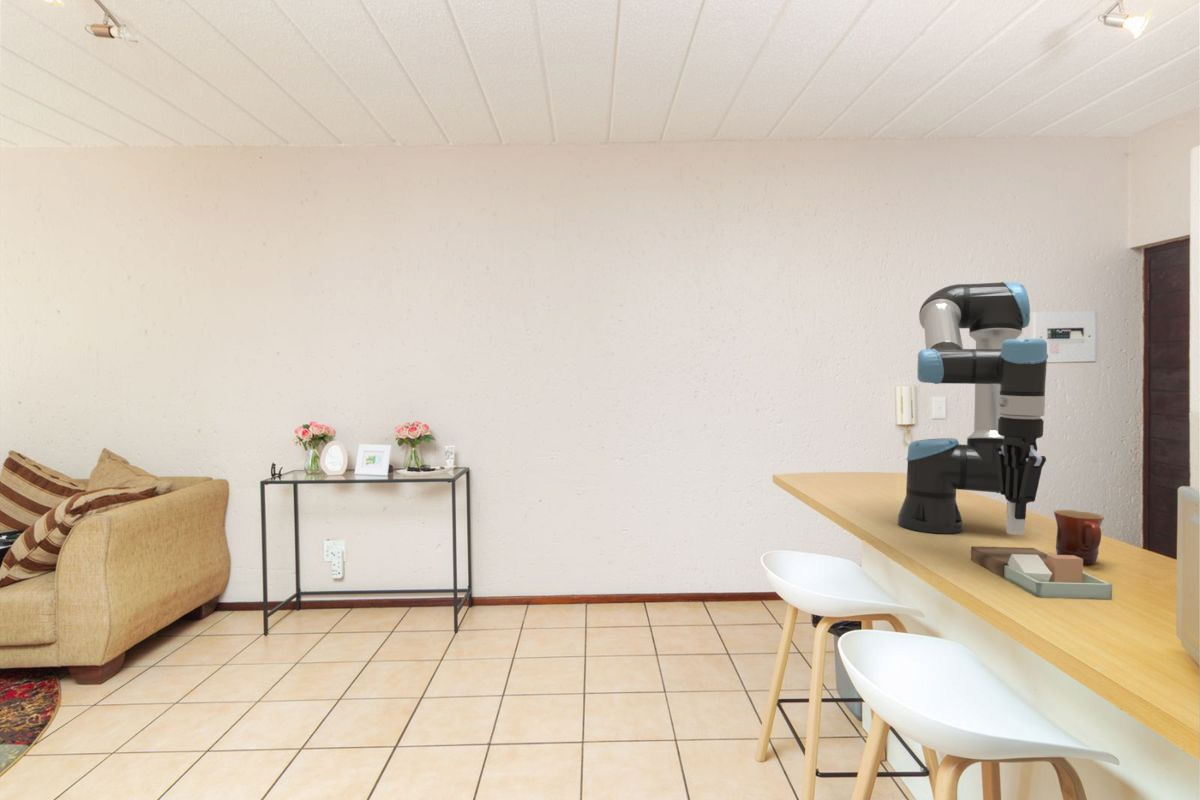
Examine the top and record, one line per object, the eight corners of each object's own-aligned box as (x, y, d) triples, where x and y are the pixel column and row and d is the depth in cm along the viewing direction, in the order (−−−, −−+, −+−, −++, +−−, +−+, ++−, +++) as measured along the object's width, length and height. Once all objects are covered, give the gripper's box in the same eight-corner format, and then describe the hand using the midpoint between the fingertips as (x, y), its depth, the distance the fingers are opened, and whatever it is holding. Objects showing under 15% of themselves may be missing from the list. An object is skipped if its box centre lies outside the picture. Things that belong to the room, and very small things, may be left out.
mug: (1044, 553, 144) (1046, 508, 144) (1087, 556, 142) (1090, 511, 142) (1071, 569, 132) (1074, 520, 132) (1120, 573, 131) (1122, 523, 130)
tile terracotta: (1047, 554, 123) (1055, 558, 121) (1074, 555, 123) (1083, 559, 121) (1046, 580, 124) (1054, 584, 121) (1072, 580, 123) (1082, 585, 121)
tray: (1003, 578, 126) (1004, 565, 126) (1071, 580, 126) (1072, 567, 126) (1037, 596, 116) (1038, 582, 116) (1111, 599, 115) (1112, 584, 115)
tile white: (1007, 563, 126) (1011, 554, 125) (1033, 564, 126) (1037, 554, 125) (1020, 582, 122) (1024, 573, 121) (1047, 583, 122) (1052, 573, 120)
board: (970, 560, 138) (971, 546, 138) (1032, 561, 138) (1033, 547, 138) (1002, 577, 127) (1003, 562, 126) (1070, 579, 126) (1071, 564, 126)
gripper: (983, 413, 133) (978, 524, 135) (1021, 420, 120) (1015, 543, 122) (1020, 413, 133) (1014, 525, 135) (1062, 420, 120) (1056, 543, 122)
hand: (1015, 533), depth 128 cm, fingers closed
